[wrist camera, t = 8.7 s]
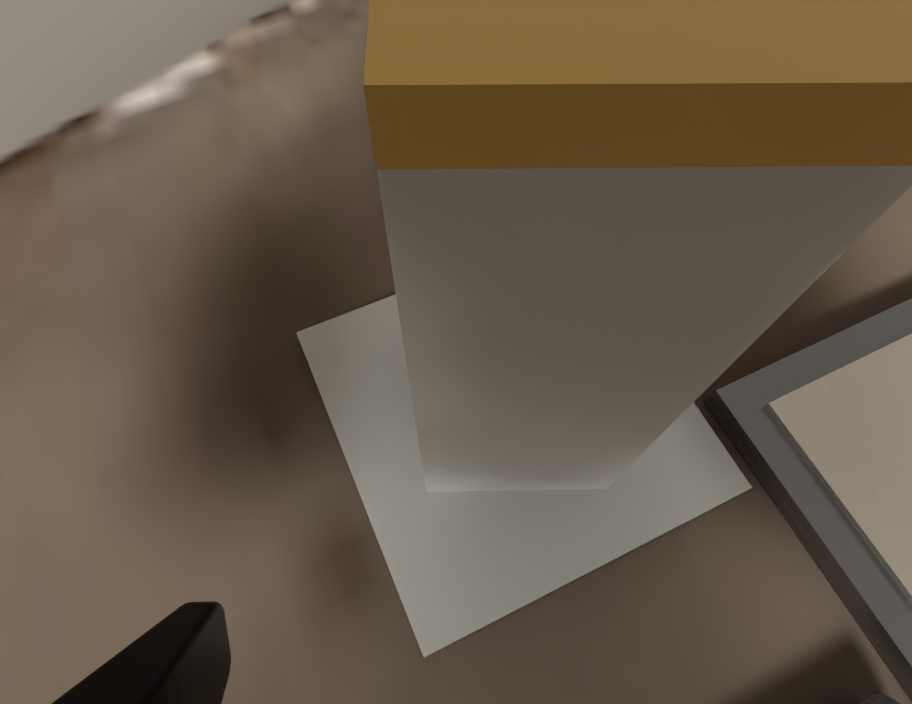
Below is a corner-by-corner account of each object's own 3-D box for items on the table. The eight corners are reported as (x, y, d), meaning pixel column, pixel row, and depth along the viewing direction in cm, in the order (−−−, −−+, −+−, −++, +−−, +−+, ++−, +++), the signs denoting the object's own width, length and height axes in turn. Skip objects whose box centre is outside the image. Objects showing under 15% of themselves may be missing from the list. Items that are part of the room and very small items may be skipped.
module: (606, 488, 15) (1015, 81, 4) (426, 492, 15) (363, 85, 4) (585, 330, 17) (823, -223, 6) (426, 332, 17) (385, -225, 6)
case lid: (424, 657, 14) (423, 657, 13) (299, 338, 17) (296, 332, 17) (745, 491, 15) (752, 487, 15) (570, 233, 19) (573, 225, 18)
